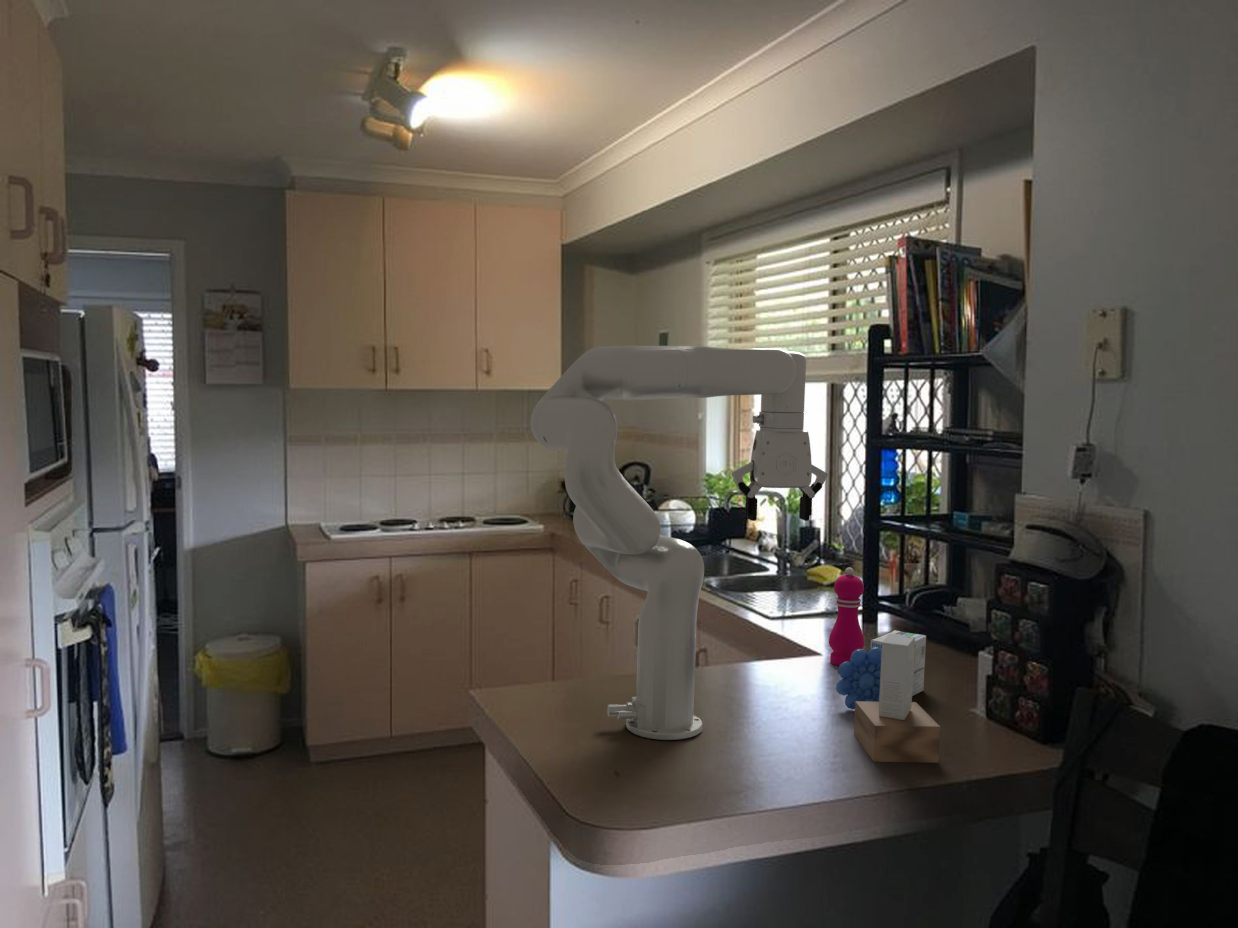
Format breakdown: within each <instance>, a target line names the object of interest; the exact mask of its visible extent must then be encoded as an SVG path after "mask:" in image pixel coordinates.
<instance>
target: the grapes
mask: <svg viewBox="0 0 1238 928" xmlns="http://www.w3.org/2000/svg"><path fill="white" fill-rule="evenodd" d="M881 653H882V649H881V648H878V647H875V648H872V649H871V650H869V651H868V652H867V651H866V650H864V649H862V650H861V649H858V650H855V651H854V652H853V653H852V654H851V662H848V661H846V662H843V663H842V664H841V665H840V666H838V671H837V672H838V675H839V676H840V679H839V680H838V681H837V682H836V686H835V690H836V692H837V693H838V694H839V695H840V696H845V697H844V704H845V706H846V707H847V709H850V710H855V701H868V702H879V694H880V673H881Z"/></svg>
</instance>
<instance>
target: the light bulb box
mask: <svg viewBox="0 0 1238 928" xmlns="http://www.w3.org/2000/svg"><path fill="white" fill-rule="evenodd" d="M888 634H898V635H905V636H912V637H915V647H914V665H913V685H912V697H913V696H915V695H917V694H920V693H921V692H923V691H924V685H925V664H926V643H927V635H924V634H919V633H911V632H905V631H900V630H892V631H889V632H888V633H886V634H883V635H881V636H878V637H875V638H873V639H870V646H869V647H870V648H869V649H870V650H871V649H872V648H875V647H878V648H881V649H882V642H883V641H884V640H885V638H886V637H887V636H888ZM870 650H869V651H870Z"/></svg>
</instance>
